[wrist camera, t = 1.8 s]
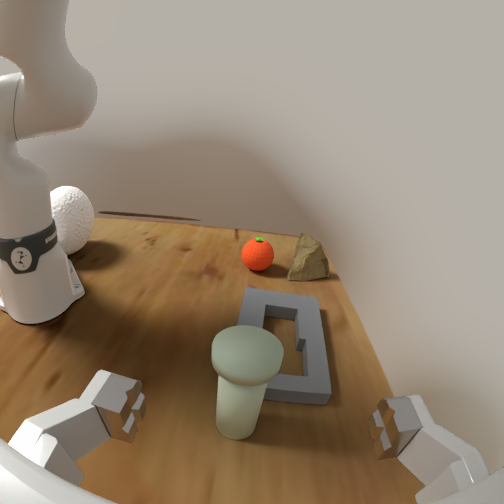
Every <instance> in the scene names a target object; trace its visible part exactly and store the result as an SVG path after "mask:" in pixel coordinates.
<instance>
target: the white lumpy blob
mask: <svg viewBox="0 0 504 504" xmlns="http://www.w3.org/2000/svg"><path fill="white" fill-rule="evenodd" d="M50 195H51V209H52V218H53V219H54V220H55V225H56V228H57V237H58V242H59V243H60V245H61V247H62V248H63V250H64V253H65V254H67V255H69V254H72V253H75V252H76V251H78V250H79V249H81V248H82V247H83V246H85V244H86V243H87V241H88V239H89V238H90V236H91V233H92V230H93V227H94V210H93V207H92V205H91V203H90V201H89V199H88V198H87V196H86V195H85V194H84V193H83V192H82V191H80V190H79V189H78V188H75V187H70V186H62V187H59V188H56V189H55V190H53V191H52V192H50Z"/></svg>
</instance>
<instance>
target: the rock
mask: <svg viewBox="0 0 504 504" xmlns="http://www.w3.org/2000/svg"><path fill="white" fill-rule="evenodd" d="M329 272H330V270H329V266H328V259H327V258H326V257H325V254H324V251H323V249H322V246H321V244H320V243H319V242H317V241H316V240H315V239H314V238H313V237H312V236H310V235H307V234H303V233H302V234H301V236H300V238H299V240H298V243H297V246H296V250H295V253H294V256H293V260H292V262H291V265H290V268H289V271H288V274H287V280H288V281H291V280H298V281H307V280H313V279H318V278H321V277H329V276H330V275H329Z"/></svg>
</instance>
